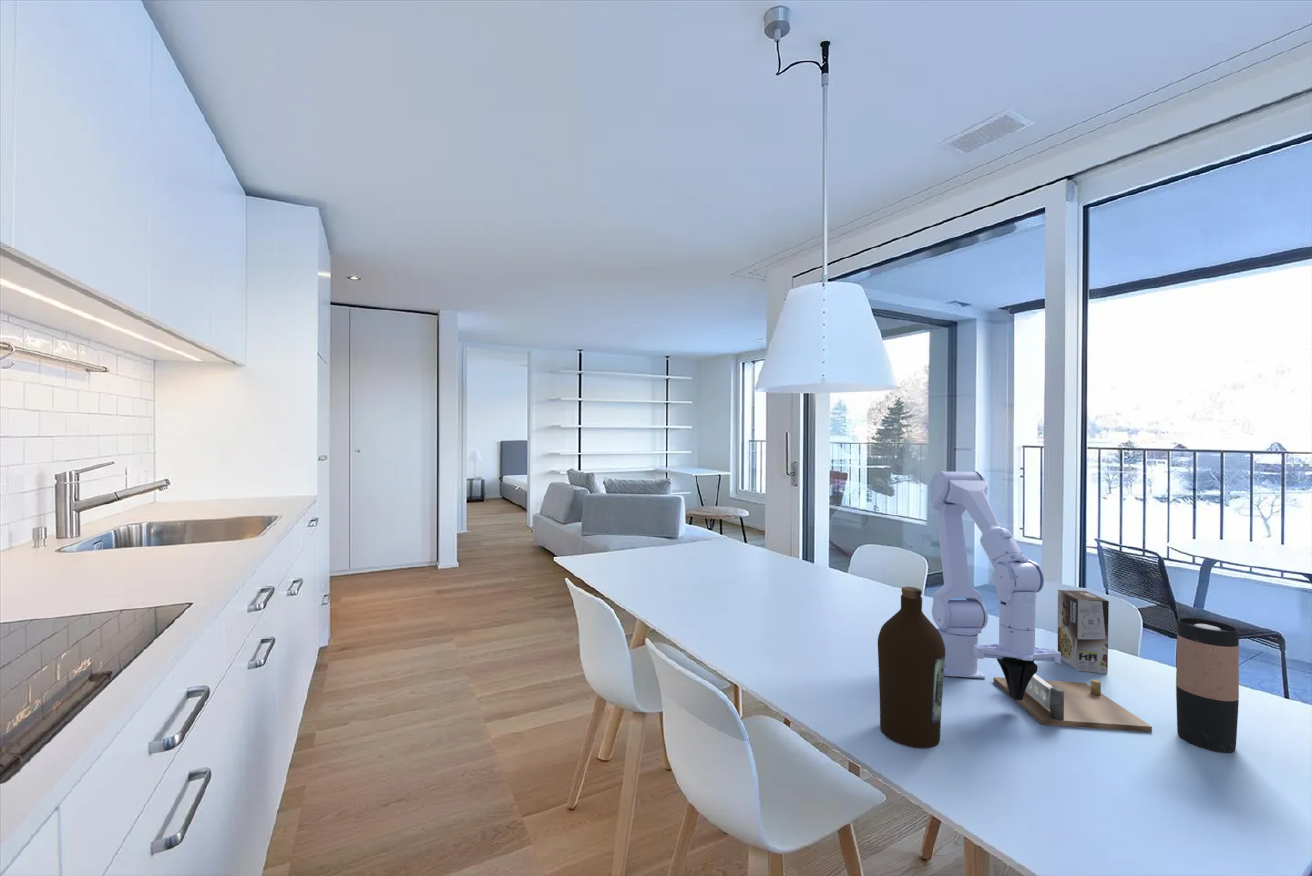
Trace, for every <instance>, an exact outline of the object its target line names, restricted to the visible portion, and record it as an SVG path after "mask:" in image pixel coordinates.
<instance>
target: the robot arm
mask: <svg viewBox="0 0 1312 876" xmlns="http://www.w3.org/2000/svg"><path fill="white" fill-rule="evenodd" d="M988 485H989V484H988V482H986V479H985V477H984V475H983V474H982V473H981V472H980V471H978V470H977V471H975V470H974V471H943V470H936V471H935V472H934V473H933V474H932V476H931V479H930V481H929V486H928V487H929V495H930V502H931V507H932V509H934V510H935V514H936V515H935V516H936V522H937V532H938V541H939V548H940V549H939V550H940V559H941V560H940V561H941V567H942V577H943V585H942V586H940V587H939V588H938V589H937V590H936V591H935V592H934V593H933V594H932V607H931V614H932V619H933V621H934V623H935V624H936V626H937V627H938V628H936V629H937V630H938V631H939V633H940V634H941V636H942V638H943V642H944V645H945V667H944V677H958V678H972V679H973V678H974V679H986V675H985V674H984V673H983V672H982V671H980V670H979V669H978V659H980V660H984V659H996V661H997V663H998V665H999V666H1000V668H1001V670H1002V673H1003V675H1004V678H1006V682H1007V685H1008V689H1009V695H1010V696H1011V697H1012V698H1013V701H1015V700H1023V696H1024V693H1025V690H1026V688H1027V685H1028V683H1029V681H1030V680H1031V678H1032V677H1033V675H1034V674H1037V672H1038V669H1039V667H1038V665H1037V664H1036V663H1035V662H1037V661H1038V662H1053V663H1054V664H1061V663H1062V661H1061V660H1062V659H1061V653H1060V652H1058V650H1056V649H1054V648H1046V647H1045V648H1044V647H1038V646H1036V608H1037V607H1036V606H1037V605H1036V601H1037V600H1036V599H1037V598H1036V597H1037V596H1036V595H1037V594H1036V593H1039V592H1041V591H1042V589H1043V588H1044V585H1045V584H1044V583H1045V578H1044V574H1043V573H1044V572H1043V570H1042V569H1041V566H1040V565H1039V564H1038V563H1037V562H1036V561H1032V560H1031V558H1030V557H1028V556H1025V555H1024V553H1023V551H1022V550H1021V548H1020V546H1019V544H1018V543H1017V541H1016V540H1015V538H1014V536H1013V535H1012V533H1011V531H1010V530H1009V529H1007V528H1004V527H1001V526H1000V524H999V521H998V519H997V517H996V515H995V513H994V511H993V509H992V506H991V504H990V502H989V500H988V498H987V494H988V487H989V486H988ZM965 511H967V512H968V514H969V516H970V518H971V519H972V520H973V521H974V523H975V525H976V526H977V528H978V529H979V530H980V532H981V533H982V534H981V537H980V539H979V543H980V545H981V546H982V549H983V550H984V552H985V553H986V555H987V557H988V560H989V561H990V563H991V565H992V567H993V573H992V581H993V585H994V586H995V590H996V594H995V596H996V598H997V599H998V600H999V610H998V611H999V613H998V615H999V617H998V618H999V619H998V621H999V622H998V623H999V624H998V631H999V632H998V643H993V644H990V643H989V644H979V643H978V642H979V634H982V629H983V630H984V629H985V628H986V626H987V624H988V622H989V621H988V620H989V614H988V610H987V608H986V606H985V603H984V599H983V595H982V594H981V593H980V592H979V591H978V590H977V589H975V588H974V587H973V586H972V585H971V580H970V572H969V564H968V563H969V561H968V556H967V546H966V540H965V539H966V538H965V531H964V522H963V514H964V513H965ZM955 598H956V599H955ZM964 599H965V600H964ZM1009 695H1008V696H1009ZM1010 696H1009V697H1010ZM1011 697H1010V698H1011ZM1012 698H1011V699H1012Z"/></svg>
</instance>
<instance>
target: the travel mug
mask: <svg viewBox="0 0 1312 876" xmlns="http://www.w3.org/2000/svg"><path fill="white" fill-rule="evenodd" d="M1176 633H1177V634H1176V637H1177V639H1176V665H1175V668H1176V671H1175V694H1176V695H1175V696H1176V697H1175V698H1176V699H1175V700H1176V729H1177V736H1178V738H1180V739H1181V740H1183V741H1184V742H1186V743H1188V744H1190V745H1193V746H1195V747H1197V748H1201V749H1204V750H1207V751H1210V752H1216V753H1221V754H1223V753H1224V754H1229V753H1230V754H1231V753H1234V752H1235V751H1236V748H1237V738H1238V737H1237V734H1238V719H1239V702H1240V701H1239V698H1240V693H1239V692H1240V690H1239V689H1240V680H1239V679H1240V669H1239V667H1240V655H1239V654H1240V653H1239V652H1240V649H1239V648H1240V644H1239V643H1240V633H1239V632H1238V629H1237V628H1236V627H1235V626H1233V625H1231V624H1226V623H1224V622H1219V621H1215V620H1209V619H1205V618H1198V617H1197V618H1195V617H1180V618H1178V619H1177V631H1176Z"/></svg>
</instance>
